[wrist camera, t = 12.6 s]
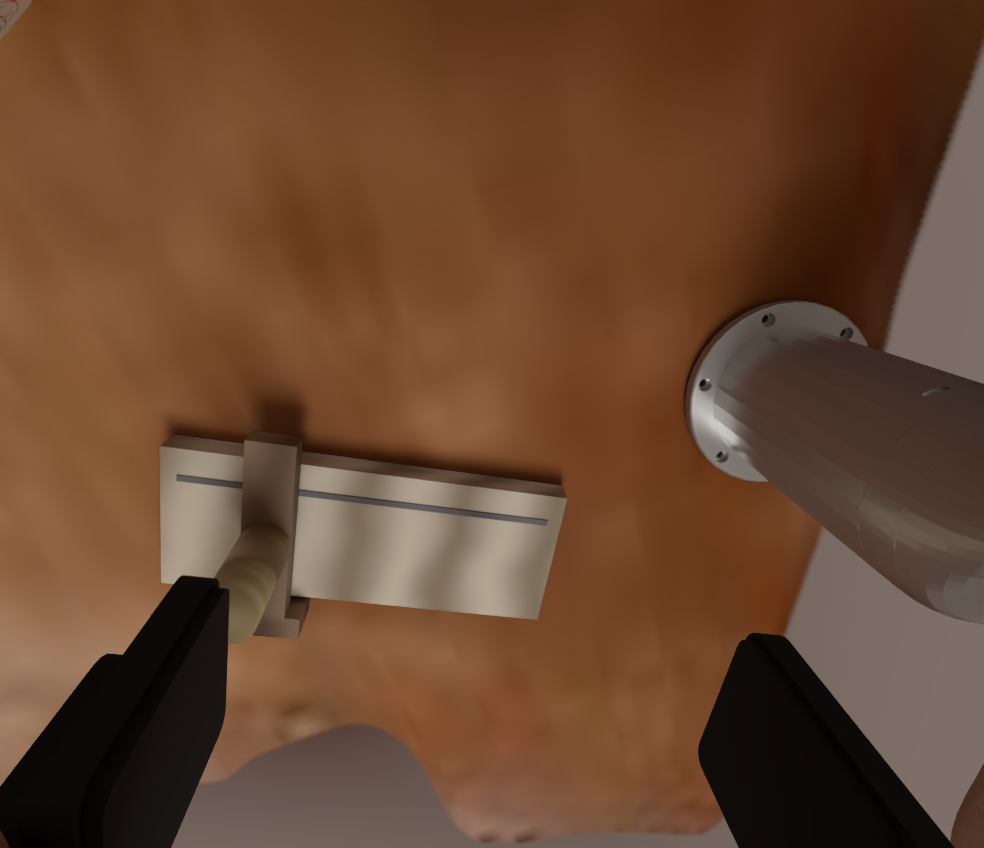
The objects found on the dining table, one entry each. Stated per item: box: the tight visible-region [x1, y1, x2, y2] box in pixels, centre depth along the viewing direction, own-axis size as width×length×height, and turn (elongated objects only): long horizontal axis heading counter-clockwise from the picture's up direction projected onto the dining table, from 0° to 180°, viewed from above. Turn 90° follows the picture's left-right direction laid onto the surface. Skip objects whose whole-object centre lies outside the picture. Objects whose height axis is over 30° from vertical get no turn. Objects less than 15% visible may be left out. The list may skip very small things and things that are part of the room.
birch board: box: [160, 435, 567, 620], centre depth 40 cm, size 26×10×2 cm, turn 80°
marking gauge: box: [214, 430, 310, 644], centre depth 35 cm, size 5×14×10 cm, turn 170°
